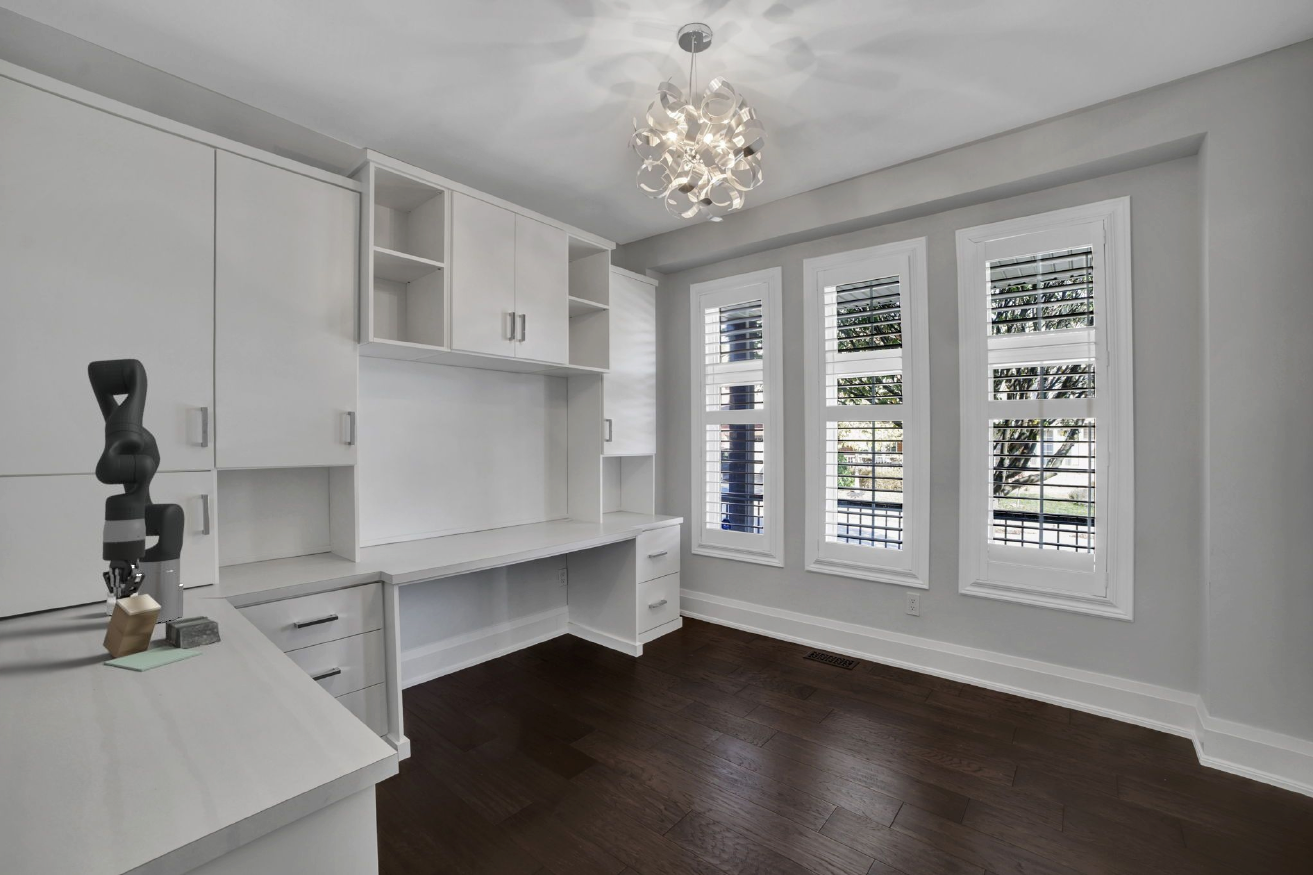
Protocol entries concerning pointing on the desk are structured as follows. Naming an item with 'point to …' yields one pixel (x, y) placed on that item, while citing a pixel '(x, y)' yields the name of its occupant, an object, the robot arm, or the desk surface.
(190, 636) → the stone block
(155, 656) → the sage mat
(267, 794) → the desk surface
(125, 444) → the robot arm
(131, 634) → the walnut block
